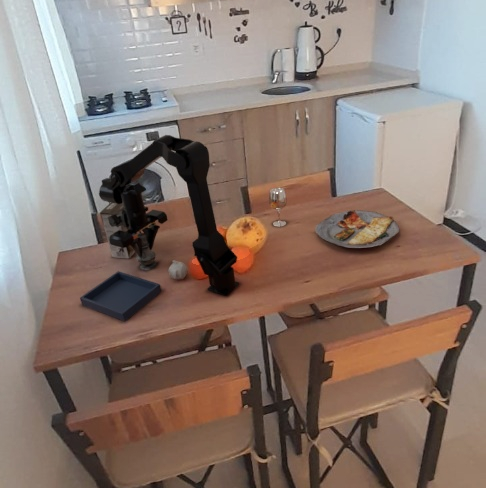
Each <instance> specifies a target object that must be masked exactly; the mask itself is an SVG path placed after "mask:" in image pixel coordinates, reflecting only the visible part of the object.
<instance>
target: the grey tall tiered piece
mask: <svg viewBox="0 0 486 488" xmlns="http://www.w3.org/2000/svg"><path fill="white" fill-rule="evenodd" d="M137 237H138V238H141V239H142V257H139V256H138V255H137V254H136V257H135V259H136V260H137V261H138V263H139V269H140V270H141V271H150V270H151V271H152V270H154V269H155V268H156V267H157V266H158V262H157V261H156V255H157V254H156V251H153V250H150V248H149V242H148V241H147V237H146V234H144V233H143V232H142V230H141V231H140V232H139V234H138V235H137Z"/></svg>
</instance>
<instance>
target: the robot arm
mask: <svg viewBox="0 0 486 488" xmlns="http://www.w3.org/2000/svg"><path fill="white" fill-rule="evenodd" d="M160 158H162V159H163V160H164V161H165V163H166V164H167V165H169V166H171V167H174V168H175V169H176V171H177V175H178V176H179V177H180V178H181V179H182V180H183V181H184V182H185V183H186V186H187V190H188V195H189V199H190V203H191V208H192V212H193V217H194V221H195V226H196V229H197V234H198V235H197V238H196V239H195V240H193V241H192V245H191V246H192V249H193V252H194V254H193V256H194V257H196V260H197V262H198V264H199V266H200V268H201V269H202V272H203V274H204V275H205V276H207V277H208V282H209V286H208V287H207V291H208V292H211V293H214V294H217V295H221V296H224V297H227V296H229V294H231V292H233V291H234V290H235V289H236V288H237V287H238V286H239V285H240V283H239V282H240V281H236V278H235V271H234V269H235V268H234V267H232V266H233V265H234V264H236V263H237V261H238V256H237V255H236V254H235V252H234V251H232V249H231V248H230V247H229V246H228V245H227V242H226V239H225V236H224V235H222V233H221V232H220V231H219V230H218V228H217V223H216V218H215V212H214V209H213V208H214V207H213V204H212V198H211V193H210V189H209V184H208V179H207V178H208V174H209V170H210V166H211V165H210V163H211V162H210V153H209V149H208V147H207V146H206V145H205V144H203V143H202V142H200V141H195V140H193V139H189V138H181V137H175V136H173V135H170V134H165V135H163V136H160V137H158V138H156V139H154V140H153V141H152V143H150V144H149V145H148V146H146V147H145V148H144V149H142V151H140V152H139V153H138V154H136V155H135V156H134V157H132V158H130V159H128V160H126V161H124V162H121V163H120V164H118V165H116V166H113V167H111V170H110V177H105V178H104V179H102V180H101V185H100V187H99V191H98V195H99V198H100V200H102V201H103V202H107V203H116V204H122V203H123V207H124V210H122V212H121V213H119V214H117V215H116V214H114V215H111V216H109V217H108V220H109V224H110V225H111V226H112V227H114V226H116V227H119V226H122V225H123V227H125V228H127V227H129V230H127V231H126V232H125V231H121V230H118V231H117V232H115V233H113V234H112V235H110V237H109V241H110V244H111V245H114V246H118V247H121V248H126V247H128V246H129V245H130V246H131V247H132V248H133V249H134V251H135V254H136V256H137V255H138V256H139V257H142V239H141V238H138V237H137V233H138V232H140V231H141V232H142V233H144V234H146V237H147V241H148V242H149V248H150V251H153V247H154V244H155V240H156V237H157V234H158V231H159V229H160V228H161V226H160V225H163V224H164V223H166V222H167V221H168V216H167V213H166V212H165V211H163V210H157V209H151V210H150V211H149V207H148V206H145V201H144V197H143V192H146V191H147V187H145V186H144V185H141V183H140V182H137V183H136V184H133V183H134V182H136V181H138V180H139V179H140V178H141V177H142V176H143V175H144V173H145V171H146V169H147V168H148V167H150V166H151V165H152V164H154V163H155V162H156V161H158V160H159V159H160ZM156 222H158V224H160V225H157V223H156Z"/></svg>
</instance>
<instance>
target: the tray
mask: <svg viewBox="0 0 486 488" xmlns="http://www.w3.org/2000/svg"><path fill="white" fill-rule="evenodd" d="M162 292H163V290H162V286H161V284H160V283H158V282H154V281H151V280H148V279H144V278H142V277H138V276H135V275H133V274H129V273H125V272H122V271H119V270H117V272H115V273H113V274H111V275H110V276H109V277H108V278H106V279H105V280H103V281H102V282H100V283H99V284H98V285H96V286H94V287H92V289H90V290H89V291H87V292H86V293H84V294H83V295H82V296H80V297H79V300H80V303H81V305H82V306H83V307H87V308H88V309H91V310H93V311H95V312H99V313H101V314H104V315H106V316H109V317H112V318H115V319H117V320H119V321H121V322H126V321H127V320H129V319H130V318H131V317H132V316H133V315H135V314H136V313H137V312H139V311H140V310H141V309H142V308H143V307H145V306H146V305H147V304H148V303H150V302H151V301H152V300H153V299H155V298H156V297H157V296H159V294H161V293H162Z"/></svg>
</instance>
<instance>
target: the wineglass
mask: <svg viewBox="0 0 486 488" xmlns="http://www.w3.org/2000/svg"><path fill="white" fill-rule="evenodd" d="M287 198H288V197H287V194H286V191H285V189H284V188H282V187H274V188H271V189H270V190H269V195H268V203H269V206H270V207H271V208H272V209H274V210H276V212H277V217H278V219H277V220H275V221H274V222H273V223H272V225H273V226H274V227H276V228H277V227H278V228H281V227H284V226H286V225H287V222H286V221H285V220H281V216H280V215H281V209H284V208H285V207H286V206H287V202H288V201H287Z"/></svg>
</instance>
